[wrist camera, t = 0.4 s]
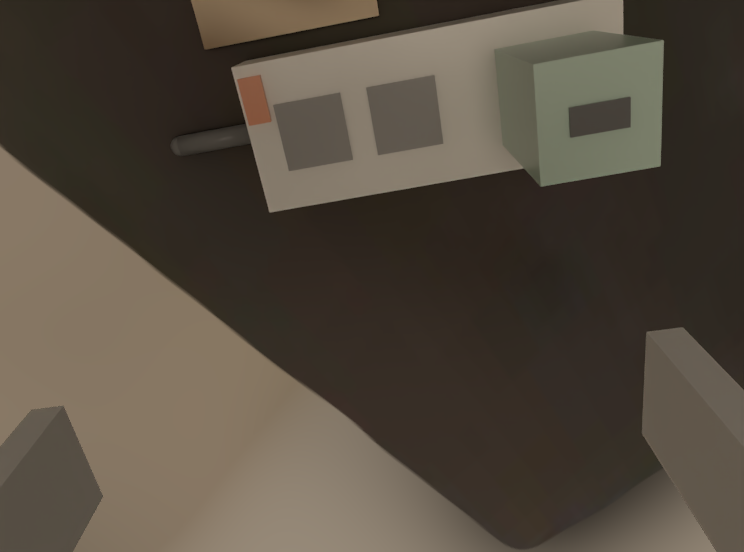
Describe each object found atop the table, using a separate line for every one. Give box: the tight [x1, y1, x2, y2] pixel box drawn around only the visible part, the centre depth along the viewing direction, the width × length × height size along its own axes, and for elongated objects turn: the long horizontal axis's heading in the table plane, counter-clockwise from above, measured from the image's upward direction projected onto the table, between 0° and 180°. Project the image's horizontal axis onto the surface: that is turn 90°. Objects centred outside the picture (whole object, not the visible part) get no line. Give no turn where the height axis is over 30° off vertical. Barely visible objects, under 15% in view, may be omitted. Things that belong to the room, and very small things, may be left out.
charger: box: [494, 30, 664, 187], centre depth 29 cm, size 5×5×10 cm
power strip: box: [171, 0, 623, 213], centre depth 34 cm, size 26×8×4 cm, turn 100°
